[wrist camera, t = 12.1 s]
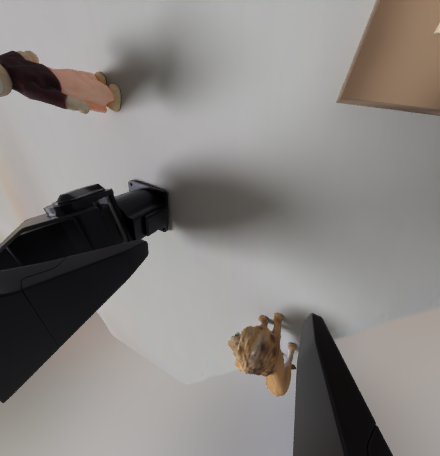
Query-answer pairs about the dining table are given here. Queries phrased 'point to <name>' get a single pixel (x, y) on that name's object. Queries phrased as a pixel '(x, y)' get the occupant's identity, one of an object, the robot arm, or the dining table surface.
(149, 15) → the dining table surface
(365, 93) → the plinth
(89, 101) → the grandmother figurine
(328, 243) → the dining table surface
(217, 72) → the dining table surface
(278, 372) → the lion figurine
